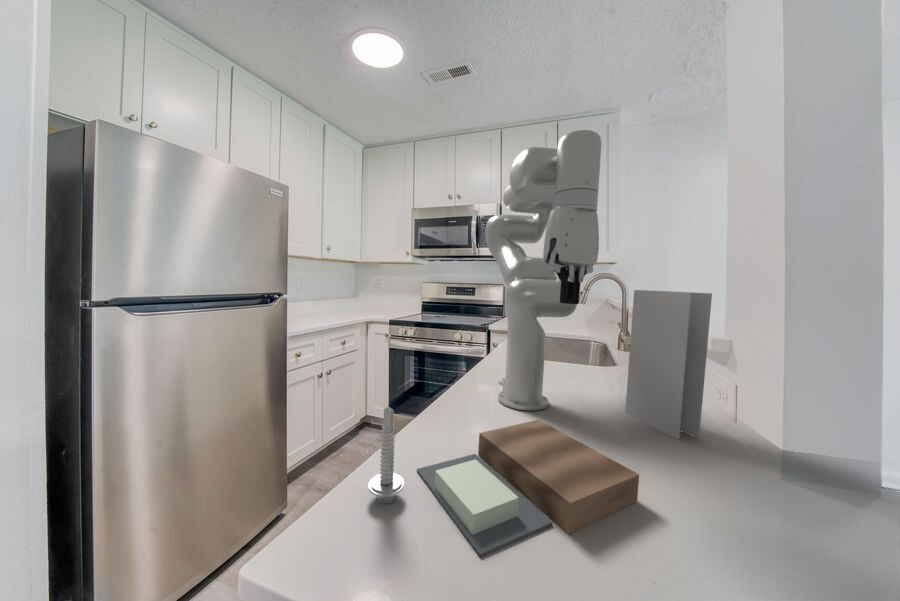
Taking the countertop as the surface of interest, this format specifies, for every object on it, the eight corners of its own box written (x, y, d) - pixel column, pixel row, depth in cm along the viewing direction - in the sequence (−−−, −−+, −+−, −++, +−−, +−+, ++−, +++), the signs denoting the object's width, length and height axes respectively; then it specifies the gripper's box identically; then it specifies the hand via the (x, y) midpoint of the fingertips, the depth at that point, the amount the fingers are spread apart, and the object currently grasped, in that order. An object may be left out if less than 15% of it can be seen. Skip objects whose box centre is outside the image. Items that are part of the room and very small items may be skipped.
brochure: (699, 438, 68) (712, 293, 66) (678, 440, 67) (690, 292, 65) (643, 410, 82) (653, 290, 80) (625, 412, 80) (634, 289, 78)
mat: (416, 471, 52) (416, 468, 52) (474, 456, 57) (475, 453, 57) (479, 557, 36) (480, 553, 36) (552, 525, 42) (552, 522, 42)
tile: (475, 459, 51) (474, 474, 51) (435, 470, 48) (434, 487, 48) (518, 497, 42) (517, 516, 42) (473, 514, 39) (472, 534, 39)
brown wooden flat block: (478, 455, 58) (479, 433, 57) (537, 439, 64) (538, 419, 64) (568, 534, 40) (570, 503, 40) (637, 501, 47) (639, 474, 47)
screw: (402, 509, 43) (365, 510, 43) (404, 486, 48) (371, 487, 48) (405, 413, 43) (367, 413, 42) (407, 400, 47) (373, 399, 47)
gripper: (585, 213, 67) (579, 302, 68) (530, 202, 60) (525, 301, 61) (619, 206, 61) (612, 305, 62) (562, 193, 54) (555, 305, 55)
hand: (569, 303), depth 62 cm, fingers closed
